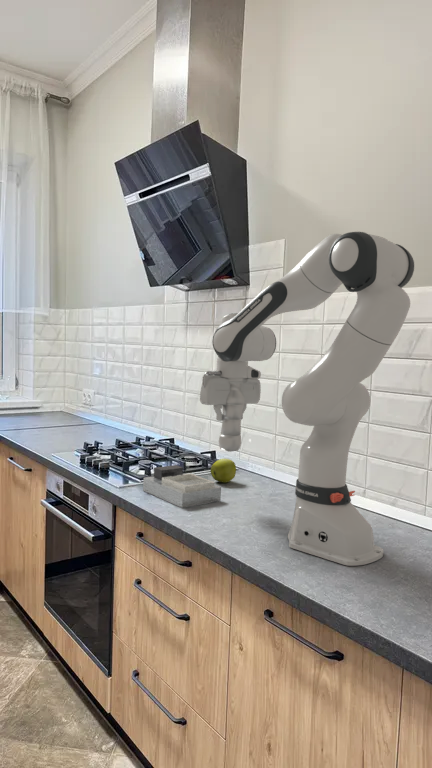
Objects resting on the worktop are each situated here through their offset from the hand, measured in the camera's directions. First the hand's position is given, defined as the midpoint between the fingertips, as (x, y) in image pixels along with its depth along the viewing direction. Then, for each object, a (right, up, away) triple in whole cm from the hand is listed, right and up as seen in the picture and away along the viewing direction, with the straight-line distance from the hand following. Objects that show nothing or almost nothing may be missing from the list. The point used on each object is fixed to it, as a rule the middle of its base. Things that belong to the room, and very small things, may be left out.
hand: (229, 420), depth 152 cm
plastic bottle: (0, -9, 0) cm, 9 cm away
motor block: (-15, -23, +9) cm, 29 cm away
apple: (-1, -23, +27) cm, 35 cm away
